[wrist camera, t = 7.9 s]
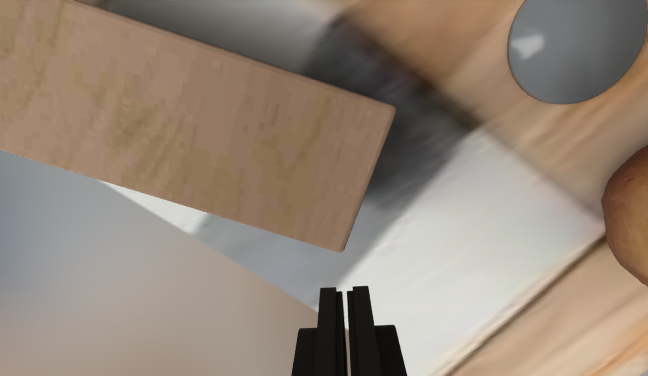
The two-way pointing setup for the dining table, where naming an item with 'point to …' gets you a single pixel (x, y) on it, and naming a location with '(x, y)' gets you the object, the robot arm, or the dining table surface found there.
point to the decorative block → (185, 120)
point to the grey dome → (574, 46)
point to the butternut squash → (629, 214)
